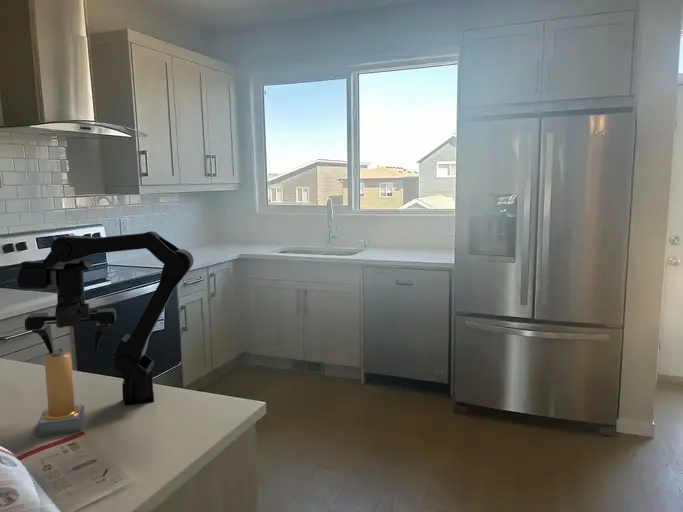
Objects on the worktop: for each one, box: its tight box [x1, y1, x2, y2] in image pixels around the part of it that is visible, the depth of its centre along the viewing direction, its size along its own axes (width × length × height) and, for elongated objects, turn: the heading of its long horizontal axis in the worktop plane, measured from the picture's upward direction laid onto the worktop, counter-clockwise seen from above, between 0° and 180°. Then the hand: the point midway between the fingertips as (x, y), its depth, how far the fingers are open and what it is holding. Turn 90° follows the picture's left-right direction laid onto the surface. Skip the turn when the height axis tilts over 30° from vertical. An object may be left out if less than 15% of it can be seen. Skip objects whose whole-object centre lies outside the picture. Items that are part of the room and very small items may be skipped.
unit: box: [36, 404, 86, 438], centre depth 112 cm, size 8×8×3 cm
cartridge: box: [43, 351, 76, 417], centre depth 111 cm, size 5×5×13 cm
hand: (74, 354), depth 124 cm, fingers open, 9 cm apart
